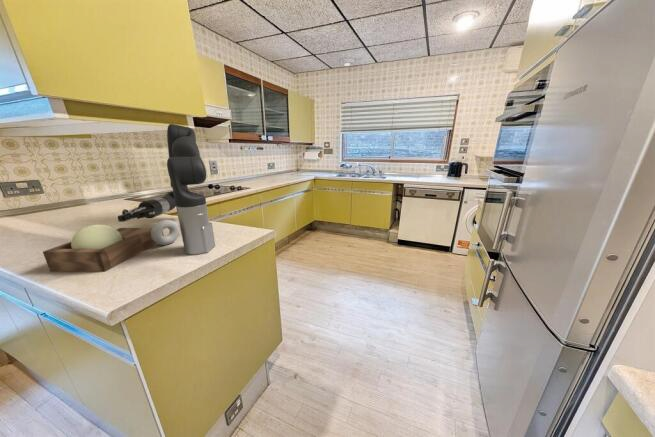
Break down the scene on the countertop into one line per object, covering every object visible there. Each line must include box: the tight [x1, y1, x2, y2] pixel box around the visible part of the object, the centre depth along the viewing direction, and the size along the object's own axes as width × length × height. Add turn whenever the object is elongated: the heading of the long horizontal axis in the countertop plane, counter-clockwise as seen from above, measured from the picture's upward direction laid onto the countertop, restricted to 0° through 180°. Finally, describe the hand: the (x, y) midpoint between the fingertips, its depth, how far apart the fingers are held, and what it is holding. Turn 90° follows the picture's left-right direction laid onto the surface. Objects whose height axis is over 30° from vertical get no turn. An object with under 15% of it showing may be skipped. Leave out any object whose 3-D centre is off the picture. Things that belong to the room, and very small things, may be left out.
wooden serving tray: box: [42, 227, 165, 272], centre depth 81 cm, size 17×26×6 cm, turn 0°
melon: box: [70, 224, 122, 249], centre depth 75 cm, size 12×12×12 cm
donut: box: [151, 219, 181, 246], centre depth 88 cm, size 10×4×10 cm, turn 155°
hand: (120, 219), depth 83 cm, fingers closed
